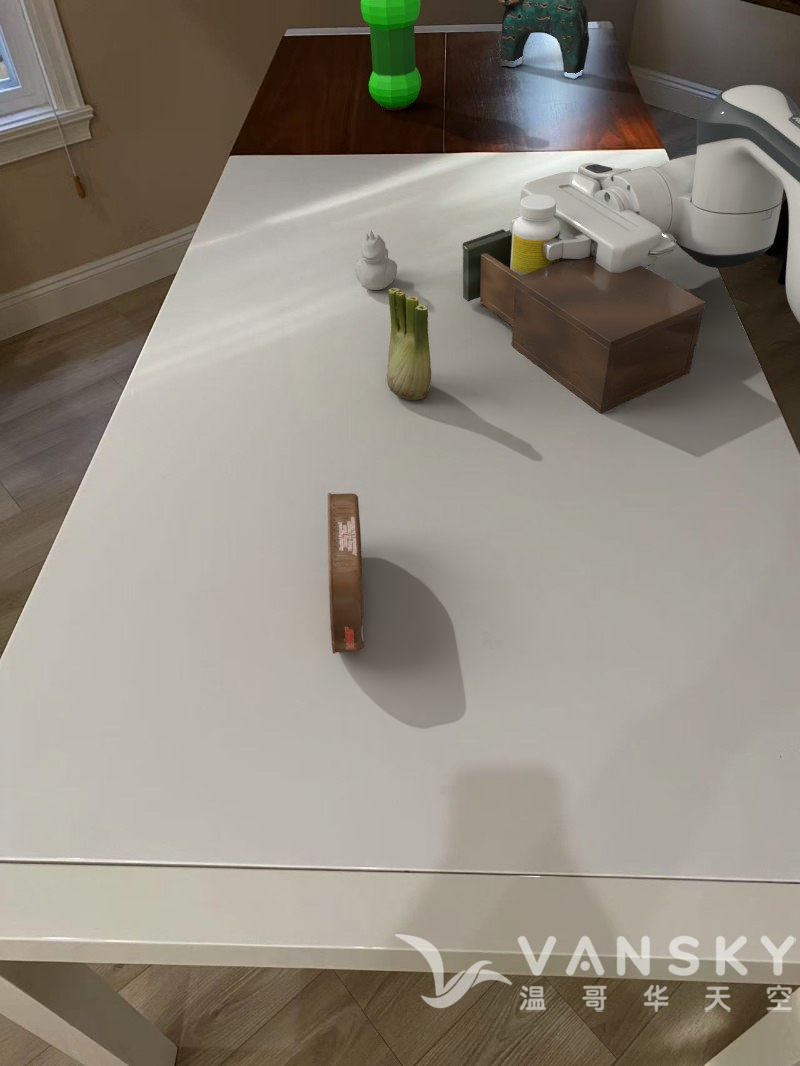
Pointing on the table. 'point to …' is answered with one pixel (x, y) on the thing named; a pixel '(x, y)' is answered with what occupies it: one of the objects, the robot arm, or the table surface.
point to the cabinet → (605, 329)
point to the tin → (345, 573)
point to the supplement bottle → (533, 233)
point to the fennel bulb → (408, 347)
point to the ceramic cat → (546, 28)
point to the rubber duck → (375, 264)
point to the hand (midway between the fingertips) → (528, 239)
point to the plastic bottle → (393, 51)
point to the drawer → (491, 272)
